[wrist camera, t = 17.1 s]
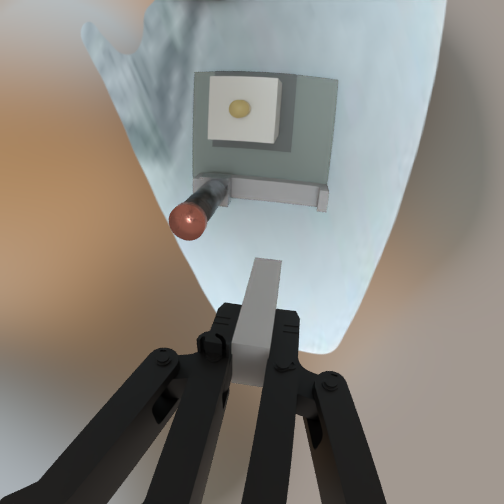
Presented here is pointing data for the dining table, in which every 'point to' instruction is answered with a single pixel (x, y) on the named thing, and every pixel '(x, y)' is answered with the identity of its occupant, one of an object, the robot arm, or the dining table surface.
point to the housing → (244, 108)
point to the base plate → (273, 155)
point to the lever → (201, 206)
